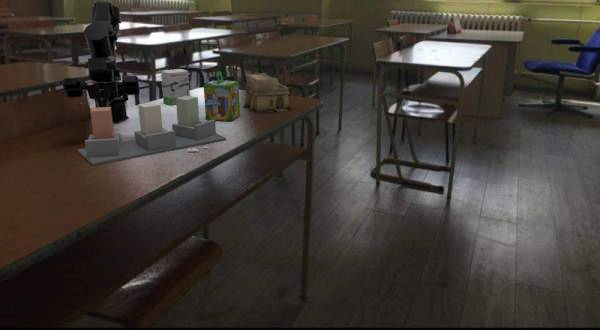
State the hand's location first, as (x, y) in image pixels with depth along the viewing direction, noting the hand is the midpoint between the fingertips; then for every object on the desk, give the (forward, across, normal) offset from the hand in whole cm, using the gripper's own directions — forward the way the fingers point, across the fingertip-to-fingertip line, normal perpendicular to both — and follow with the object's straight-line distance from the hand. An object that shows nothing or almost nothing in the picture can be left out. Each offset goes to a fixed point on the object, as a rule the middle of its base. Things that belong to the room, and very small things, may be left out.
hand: (103, 113), depth 131 cm
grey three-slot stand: (+7, +12, +5) cm, 15 cm away
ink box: (-28, +20, +40) cm, 53 cm away
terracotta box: (+9, 0, +4) cm, 10 cm away
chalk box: (-10, +34, +23) cm, 42 cm away
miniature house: (-16, +51, +29) cm, 61 cm away
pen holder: (-22, +36, +34) cm, 55 cm away
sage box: (+3, +22, +10) cm, 24 cm away
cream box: (+7, +12, +5) cm, 15 cm away
